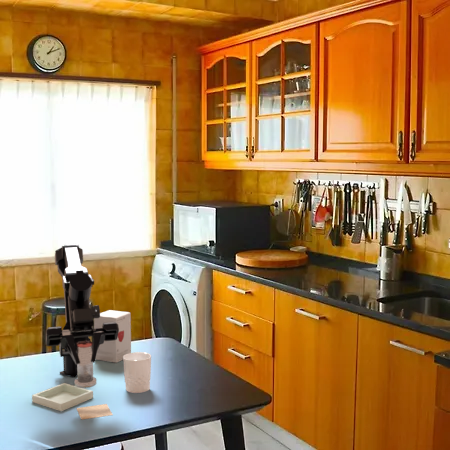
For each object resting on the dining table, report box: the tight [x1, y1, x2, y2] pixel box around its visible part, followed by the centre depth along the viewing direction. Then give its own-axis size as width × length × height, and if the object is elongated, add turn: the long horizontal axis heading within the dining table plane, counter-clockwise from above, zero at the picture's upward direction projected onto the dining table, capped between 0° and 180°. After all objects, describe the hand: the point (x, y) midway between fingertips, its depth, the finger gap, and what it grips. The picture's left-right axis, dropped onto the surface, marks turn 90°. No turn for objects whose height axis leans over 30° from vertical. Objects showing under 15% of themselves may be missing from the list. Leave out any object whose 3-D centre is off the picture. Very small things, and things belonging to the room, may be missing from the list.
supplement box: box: [93, 309, 132, 364], centre depth 217 cm, size 9×9×15 cm
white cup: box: [122, 351, 152, 394], centre depth 187 cm, size 8×8×10 cm
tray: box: [31, 382, 94, 412], centre depth 179 cm, size 11×11×2 cm
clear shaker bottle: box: [74, 340, 97, 389], centre depth 171 cm, size 6×6×11 cm
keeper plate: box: [76, 403, 113, 420], centre depth 171 cm, size 8×8×1 cm
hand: (85, 363), depth 170 cm, fingers closed on clear shaker bottle, 4 cm apart
